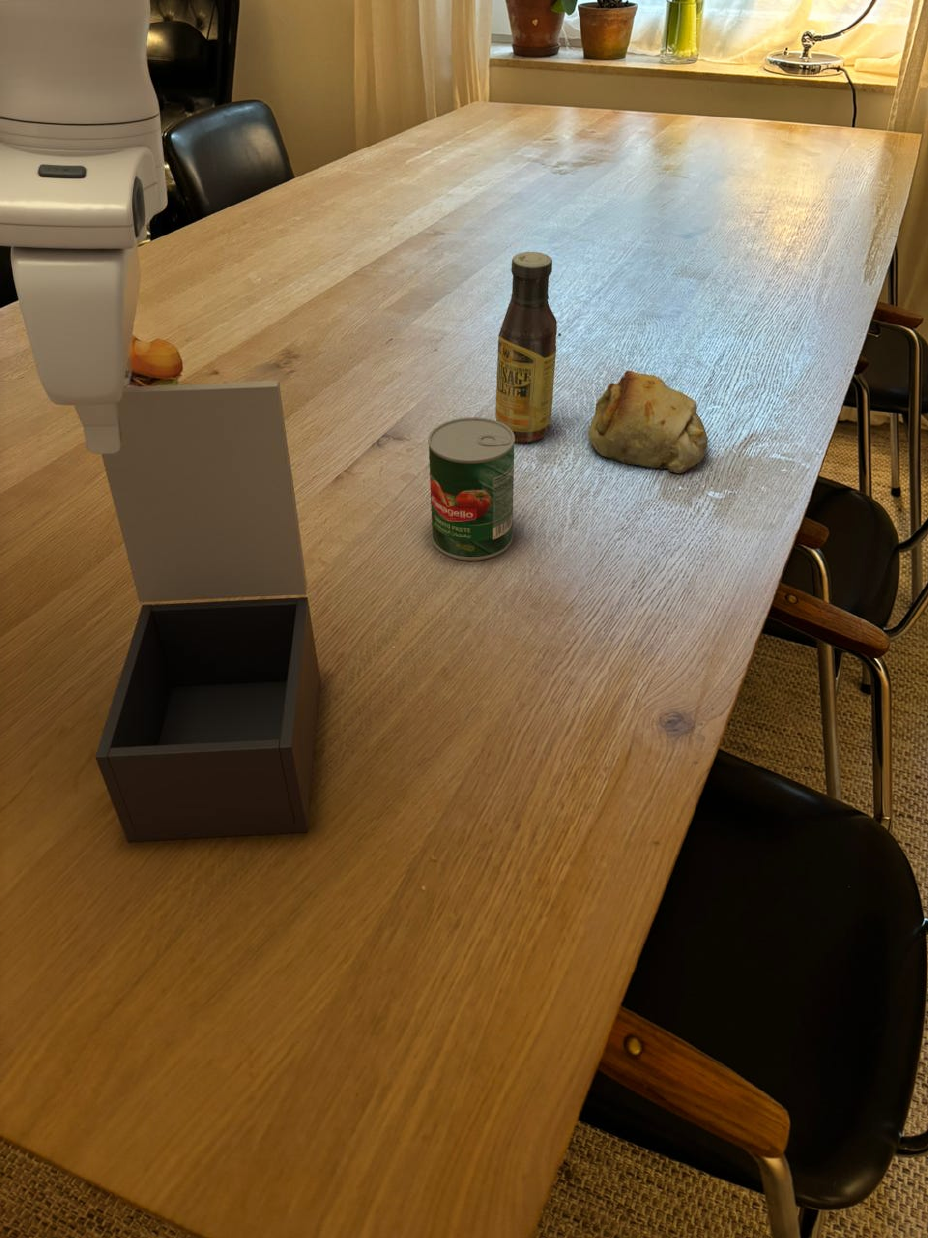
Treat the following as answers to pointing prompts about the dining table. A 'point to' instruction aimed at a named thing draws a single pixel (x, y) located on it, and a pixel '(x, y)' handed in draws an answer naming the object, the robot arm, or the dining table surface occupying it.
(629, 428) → the pastry
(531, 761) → the dining table surface
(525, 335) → the sauce bottle
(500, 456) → the canned tomato
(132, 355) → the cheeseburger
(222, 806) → the open box
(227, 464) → the box lid
